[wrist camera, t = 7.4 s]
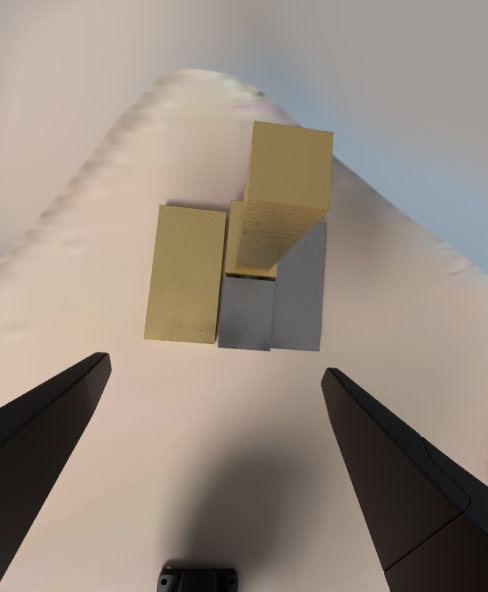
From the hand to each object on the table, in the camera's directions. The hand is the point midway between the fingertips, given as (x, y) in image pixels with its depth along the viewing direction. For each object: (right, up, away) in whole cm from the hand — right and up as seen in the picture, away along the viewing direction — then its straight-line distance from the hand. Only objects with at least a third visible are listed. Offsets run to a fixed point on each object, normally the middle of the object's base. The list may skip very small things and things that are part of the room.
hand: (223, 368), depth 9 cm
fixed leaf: (+4, +6, +12) cm, 14 cm away
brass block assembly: (-2, +5, +11) cm, 13 cm away
